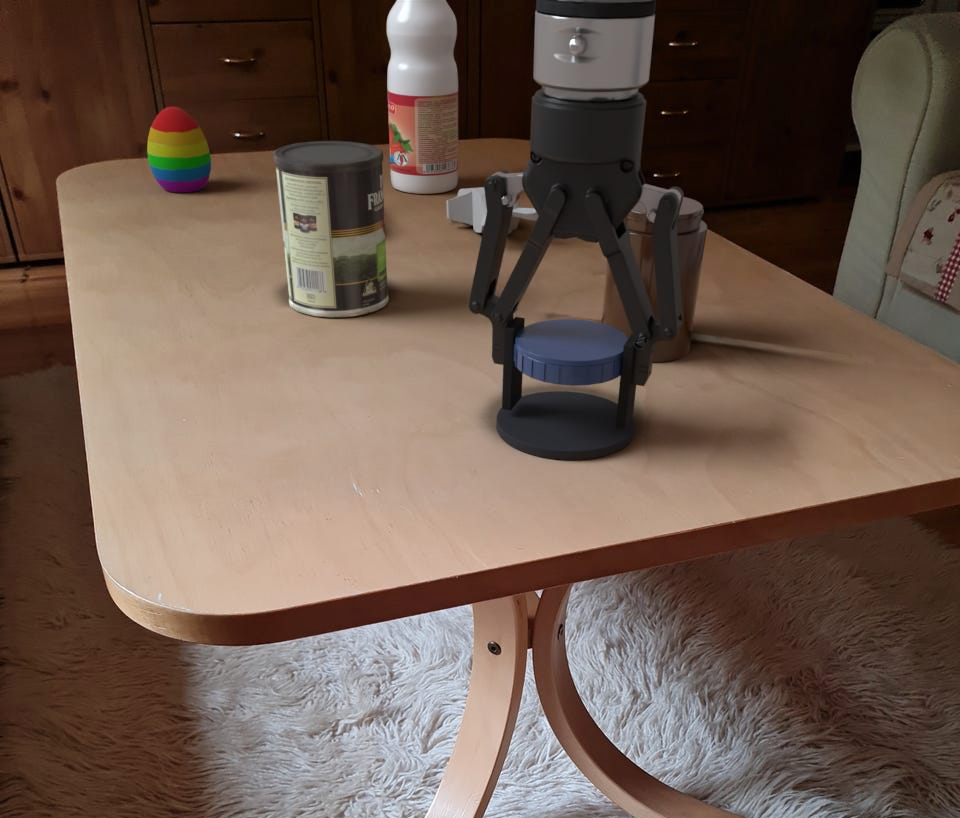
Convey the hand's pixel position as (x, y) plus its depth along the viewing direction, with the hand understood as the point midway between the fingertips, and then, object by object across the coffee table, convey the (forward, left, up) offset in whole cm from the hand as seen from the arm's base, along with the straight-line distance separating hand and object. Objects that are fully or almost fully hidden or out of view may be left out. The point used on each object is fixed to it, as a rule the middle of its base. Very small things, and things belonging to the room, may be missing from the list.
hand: (567, 411), depth 80 cm
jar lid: (0, 0, +6) cm, 6 cm away
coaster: (0, 0, -1) cm, 1 cm away
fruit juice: (+40, -67, -2) cm, 78 cm away
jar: (-2, -20, -1) cm, 20 cm away
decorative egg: (+70, -53, -2) cm, 88 cm away
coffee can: (+30, -20, -2) cm, 36 cm away
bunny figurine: (+24, -50, -2) cm, 56 cm away
